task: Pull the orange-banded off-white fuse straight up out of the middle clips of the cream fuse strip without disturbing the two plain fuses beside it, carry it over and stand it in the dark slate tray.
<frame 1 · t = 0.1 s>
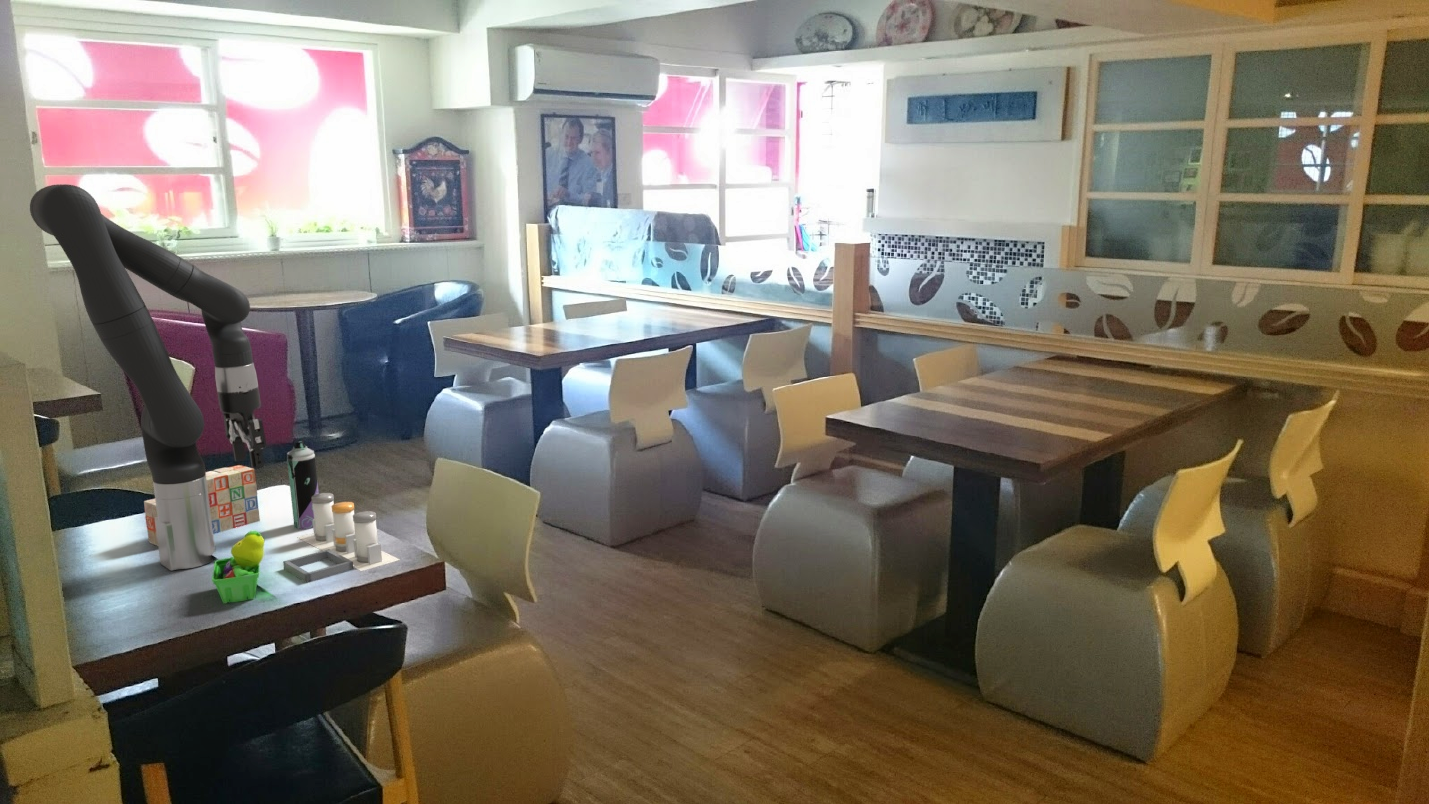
hand: (249, 464, 208), 17 cm above the table, tool pointing down, fingers open, 8 cm apart
tray: (319, 576, 194), on the table
fuse strip: (347, 555, 205), on the table
fuse left: (326, 537, 211), point 1 cm above the table, touching fuse strip
fruit basket: (243, 593, 187), on the table
spray can: (308, 532, 219), on the table
fuse marked: (346, 548, 205), point 1 cm above the table, touching fuse strip
stack of blocks: (206, 532, 221), on the table
fuse right: (368, 559, 198), point 1 cm above the table, touching fuse strip
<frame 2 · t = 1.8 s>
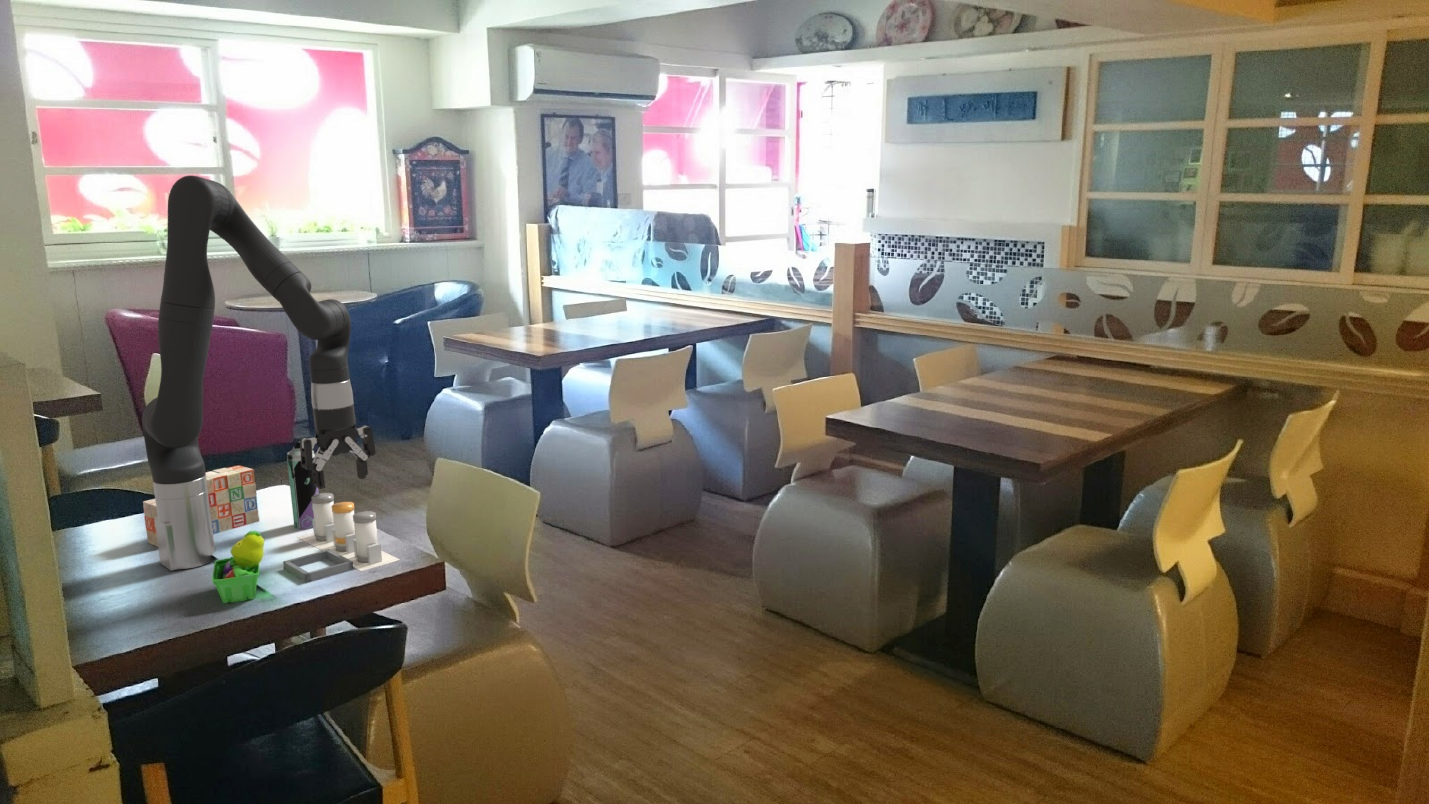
hand: (341, 483, 202), 15 cm above the table, tool pointing down, fingers open, 8 cm apart
nothing on the table moved.
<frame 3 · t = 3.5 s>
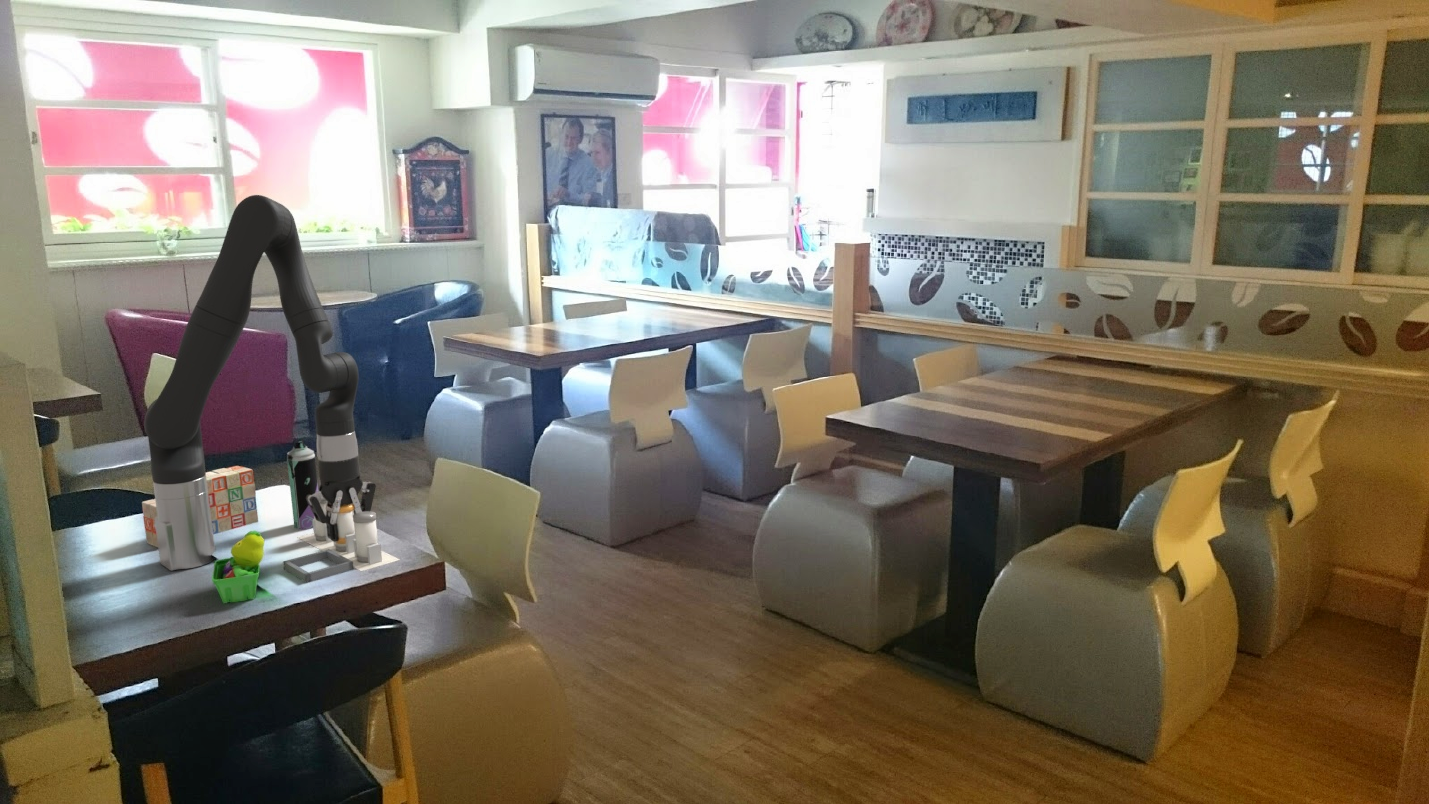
hand: (345, 537, 204), 4 cm above the table, tool pointing down, fingers closed on fuse marked, 4 cm apart
fuse marked: (346, 548, 205), point 1 cm above the table, touching fuse strip, gripper
everything else where it was.
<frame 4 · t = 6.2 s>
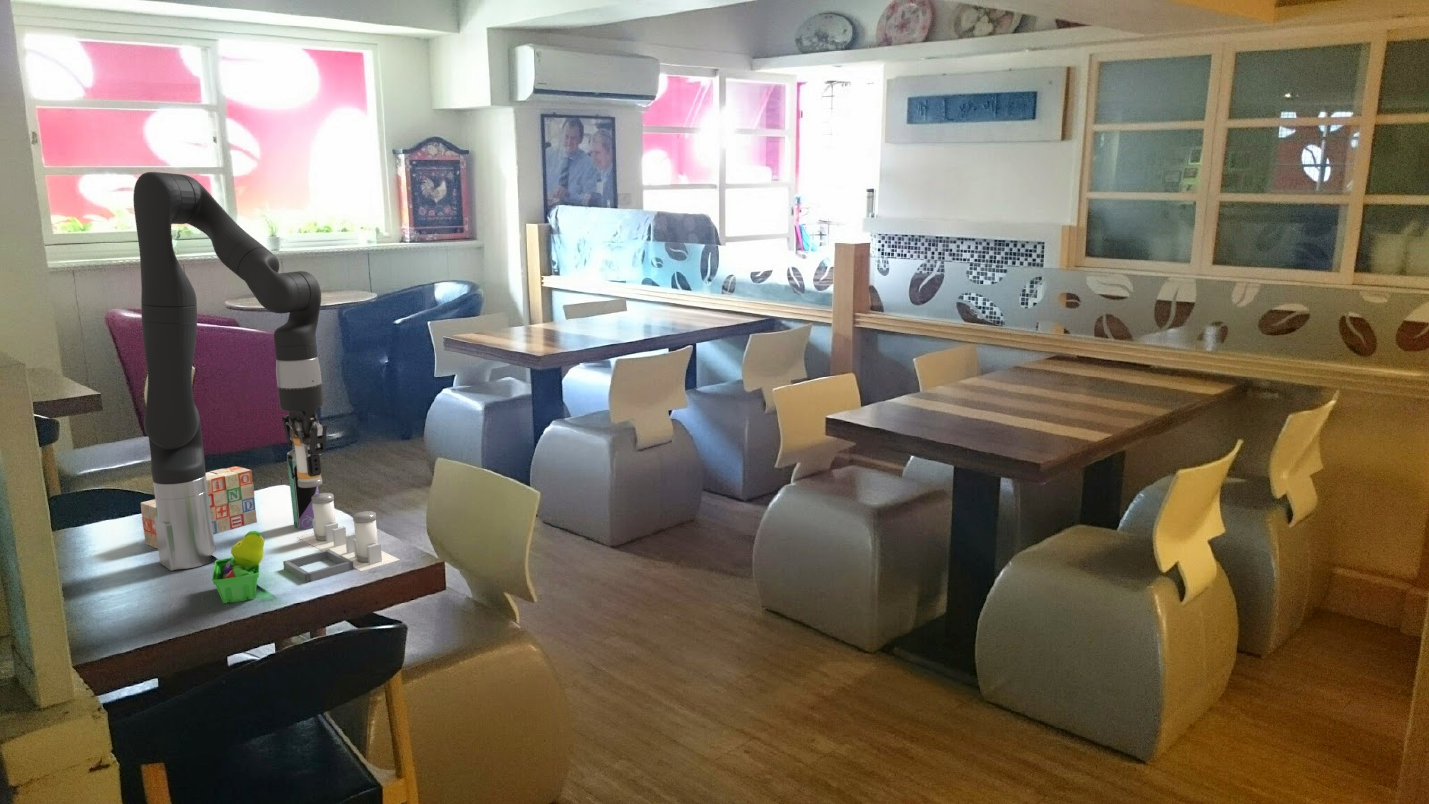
hand: (309, 472, 190), 20 cm above the table, tool pointing down, fingers closed on fuse marked, 4 cm apart
fuse marked: (310, 484, 190), point 18 cm above the table, touching gripper
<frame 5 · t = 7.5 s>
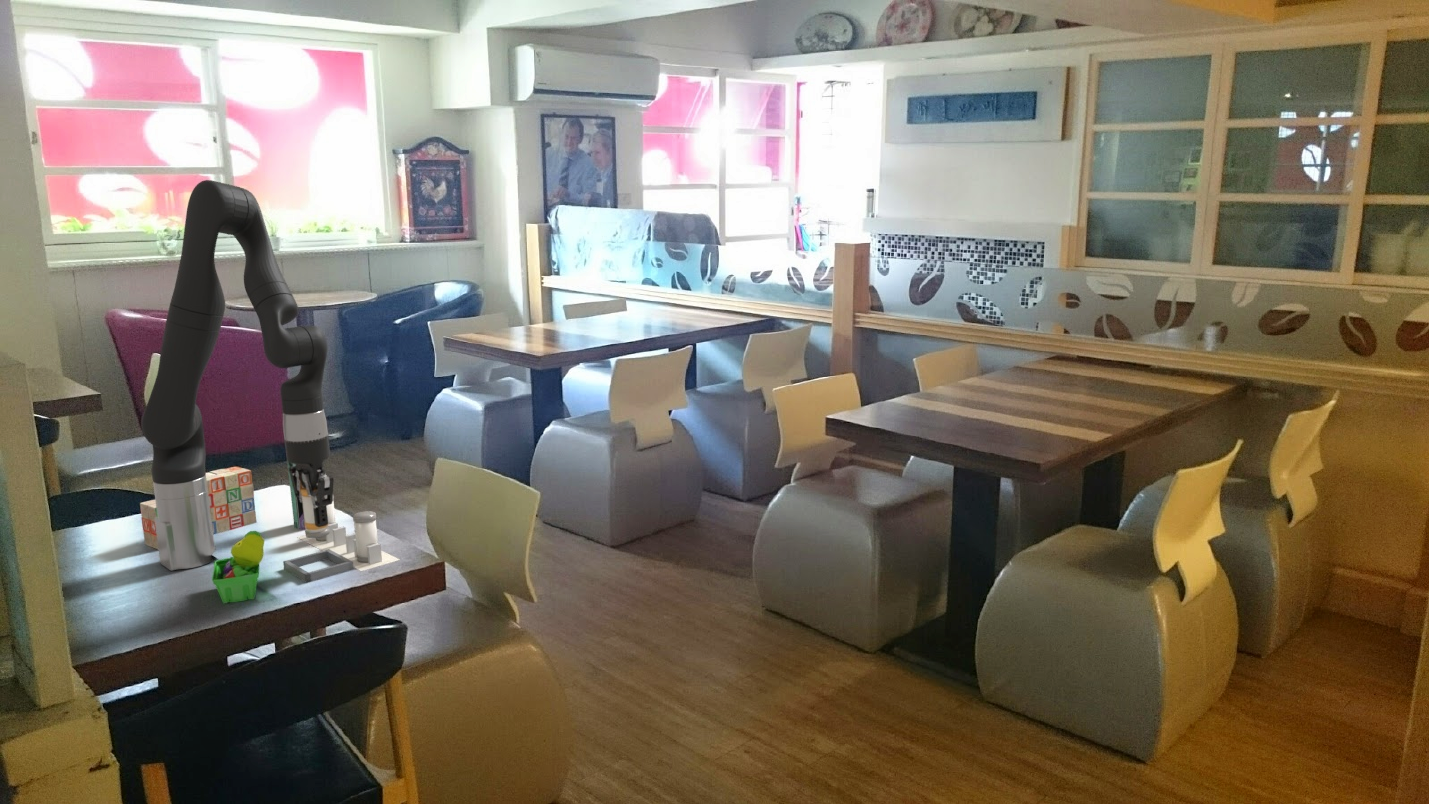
hand: (316, 522, 192), 11 cm above the table, tool pointing down, fingers closed on fuse marked, 4 cm apart
fuse marked: (317, 534, 193), point 8 cm above the table, touching gripper
when the fingers open (5 cm above the table, at t = 8.9 s): fuse marked drops 2 cm, resting on tray.
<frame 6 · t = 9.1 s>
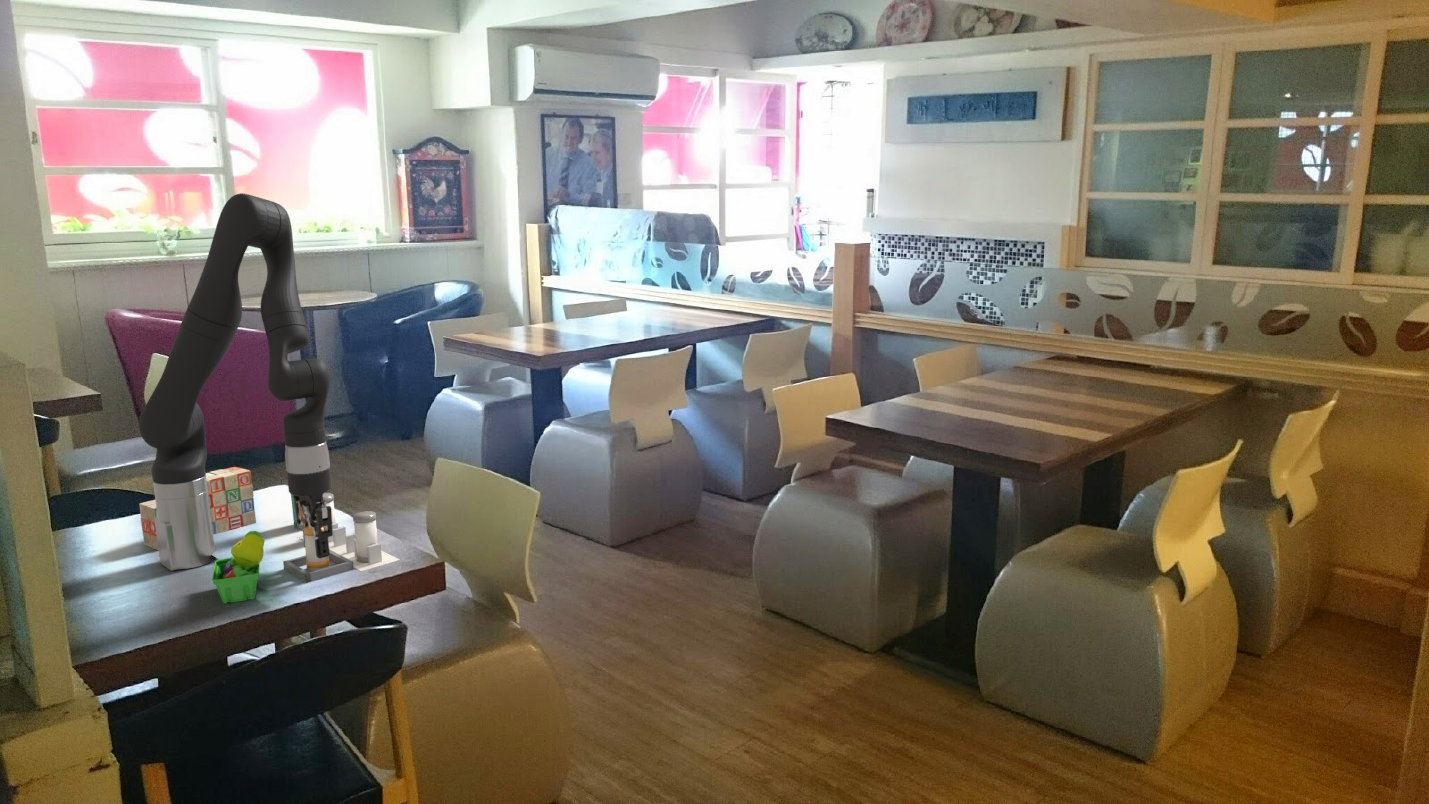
hand: (316, 552, 193), 5 cm above the table, tool pointing down, fingers open, 6 cm apart
fuse marked: (318, 573, 194), point 1 cm above the table, touching tray
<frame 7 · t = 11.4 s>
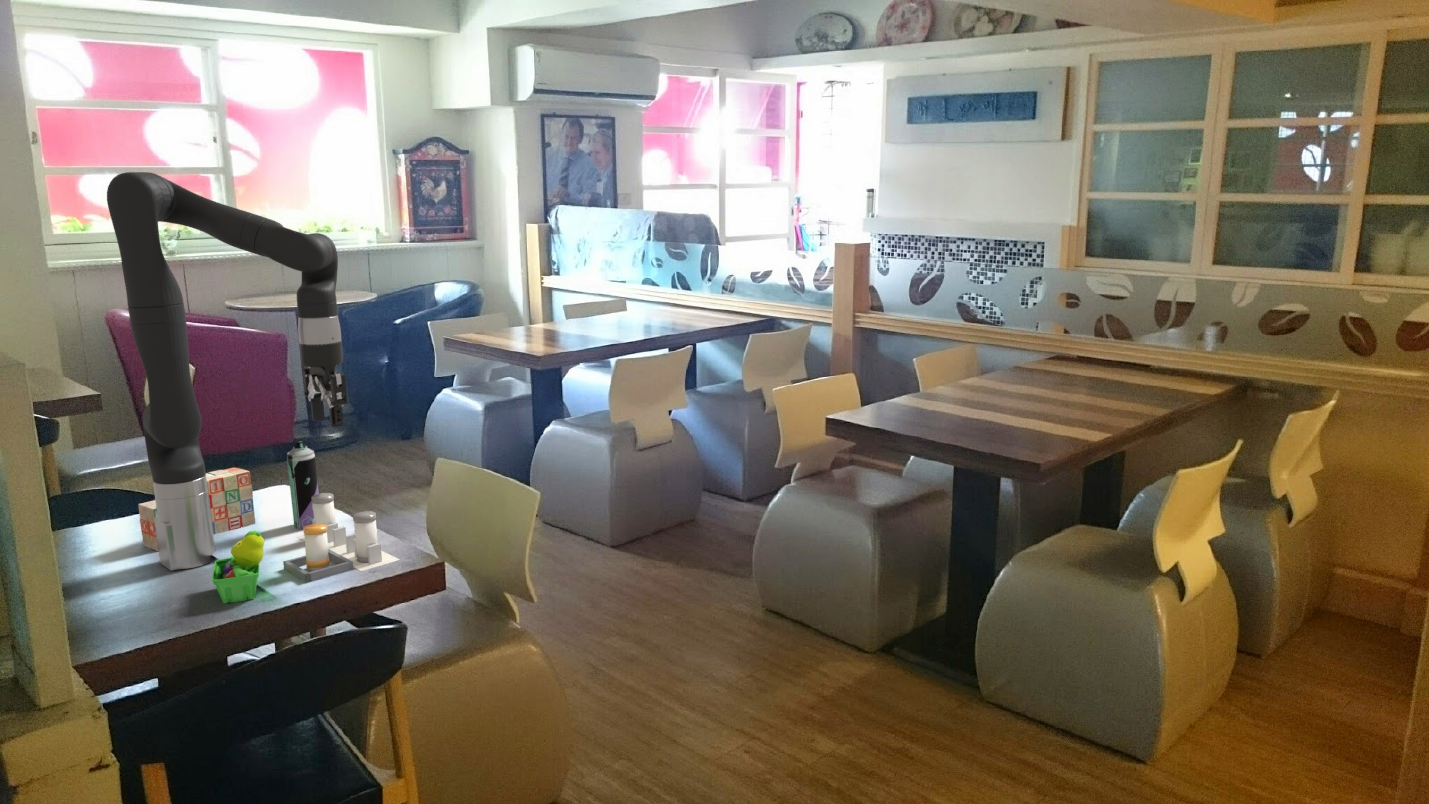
hand: (327, 423, 198), 28 cm above the table, tool pointing down, fingers open, 8 cm apart
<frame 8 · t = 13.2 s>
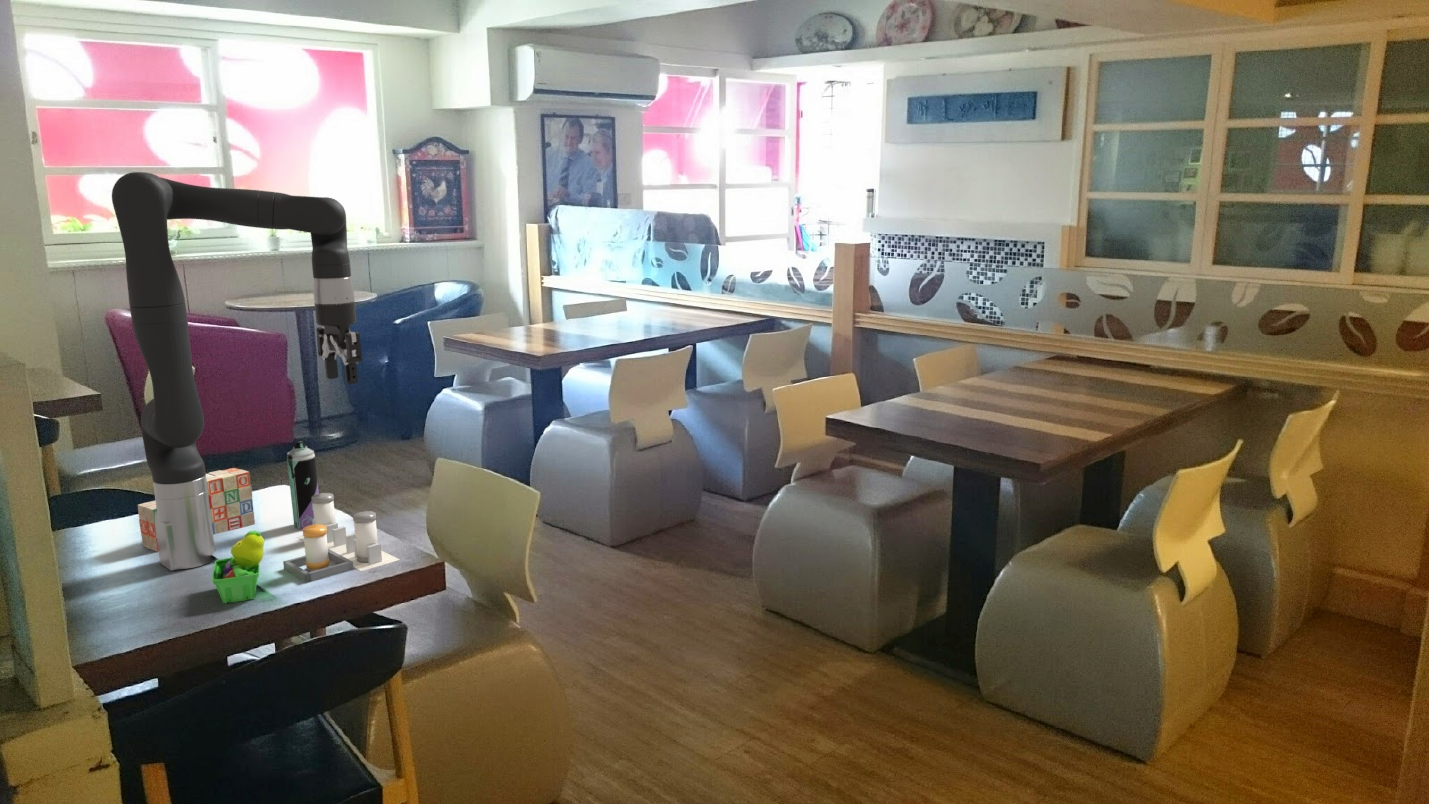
hand: (342, 380, 205), 34 cm above the table, tool pointing down, fingers open, 8 cm apart
at the end: fuse marked inside the target area on the tray (0.2 cm from its centre), point 0.7 cm above the tray's base; fuse left moved 0.0 cm from its start; fuse right moved 0.0 cm from its start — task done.
